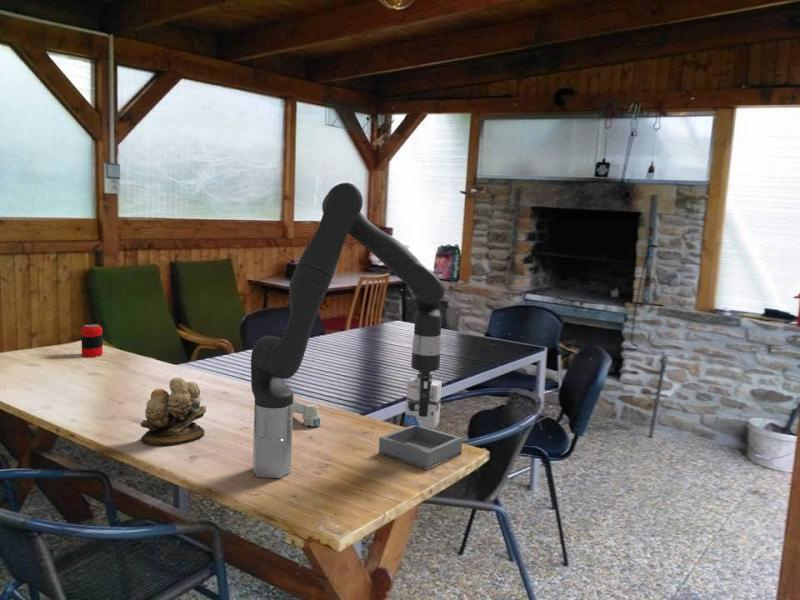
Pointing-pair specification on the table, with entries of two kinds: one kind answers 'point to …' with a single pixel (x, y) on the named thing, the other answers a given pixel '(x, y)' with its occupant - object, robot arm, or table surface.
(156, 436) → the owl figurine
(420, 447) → the walled crate
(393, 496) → the table surface
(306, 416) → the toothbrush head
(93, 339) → the soda can
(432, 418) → the ink box
